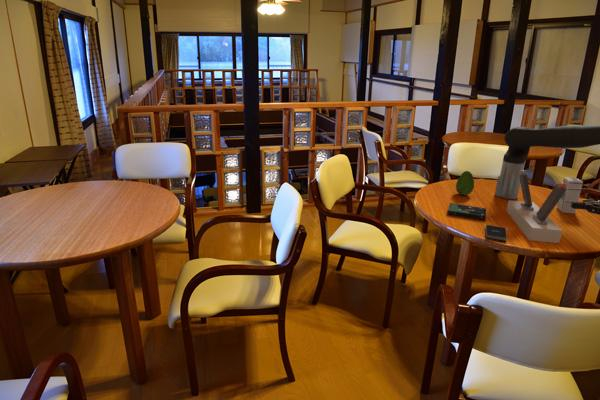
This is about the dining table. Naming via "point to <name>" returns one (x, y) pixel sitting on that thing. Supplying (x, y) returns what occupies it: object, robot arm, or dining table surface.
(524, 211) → the box
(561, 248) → the dining table surface
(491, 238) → the external hard drive
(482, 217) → the disk drive
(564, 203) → the syrup box
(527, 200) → the inner lever
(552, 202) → the outer lever
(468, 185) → the avocado
